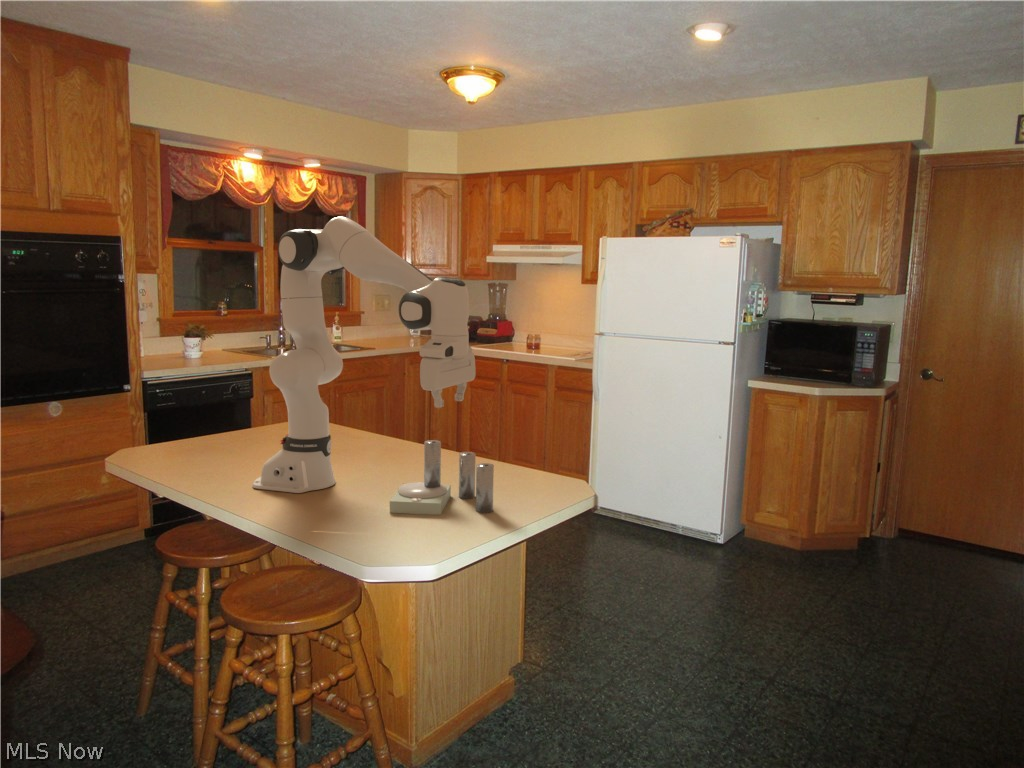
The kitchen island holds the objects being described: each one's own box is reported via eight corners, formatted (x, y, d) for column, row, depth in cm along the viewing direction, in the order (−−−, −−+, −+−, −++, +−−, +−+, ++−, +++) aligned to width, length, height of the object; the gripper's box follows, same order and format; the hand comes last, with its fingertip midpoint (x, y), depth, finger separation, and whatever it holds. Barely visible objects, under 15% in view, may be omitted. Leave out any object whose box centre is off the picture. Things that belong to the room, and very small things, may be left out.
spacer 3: (474, 512, 181) (475, 466, 179) (476, 507, 185) (477, 462, 184) (491, 513, 181) (492, 467, 179) (493, 508, 185) (494, 463, 183)
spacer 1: (422, 487, 189) (422, 443, 188) (425, 482, 194) (426, 439, 192) (439, 488, 189) (439, 444, 187) (441, 483, 193) (442, 440, 192)
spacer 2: (457, 498, 192) (458, 455, 191) (460, 493, 197) (460, 451, 195) (473, 499, 192) (474, 456, 190) (475, 494, 196) (476, 452, 195)
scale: (389, 512, 180) (389, 498, 179) (403, 493, 195) (403, 481, 195) (440, 514, 179) (440, 501, 178) (450, 495, 195) (450, 483, 194)
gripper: (460, 342, 179) (459, 396, 181) (415, 349, 161) (415, 409, 163) (482, 343, 176) (481, 398, 178) (439, 351, 158) (438, 412, 160)
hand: (449, 403), depth 171 cm, fingers open, 8 cm apart
